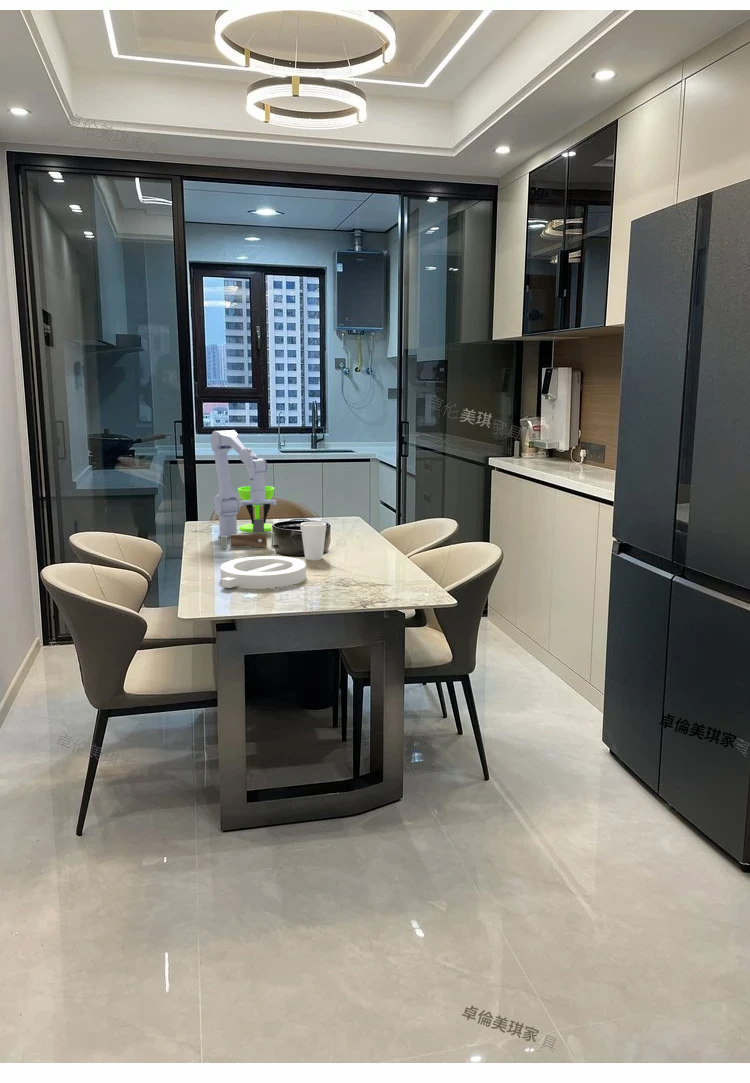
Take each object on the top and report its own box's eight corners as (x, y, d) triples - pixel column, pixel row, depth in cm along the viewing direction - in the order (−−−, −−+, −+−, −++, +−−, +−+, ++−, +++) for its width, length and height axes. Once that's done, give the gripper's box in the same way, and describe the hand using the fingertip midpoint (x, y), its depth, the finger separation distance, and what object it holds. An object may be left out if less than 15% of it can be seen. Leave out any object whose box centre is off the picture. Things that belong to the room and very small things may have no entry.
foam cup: (296, 557, 294) (295, 523, 291) (317, 554, 299) (317, 520, 297) (310, 562, 287) (309, 527, 284) (331, 559, 292) (331, 524, 289)
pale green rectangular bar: (221, 547, 312) (220, 536, 311) (278, 545, 317) (277, 533, 316) (221, 548, 311) (220, 536, 310) (278, 545, 315) (278, 534, 314)
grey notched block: (253, 532, 322) (252, 519, 322) (263, 531, 323) (262, 519, 323) (254, 532, 315) (253, 519, 314) (264, 531, 315) (263, 519, 315)
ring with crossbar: (221, 592, 248) (220, 577, 247) (220, 571, 275) (220, 557, 274) (310, 587, 253) (310, 573, 253) (301, 567, 280) (301, 554, 279)
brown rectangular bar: (231, 546, 313) (230, 534, 312) (266, 545, 314) (266, 534, 313) (230, 547, 310) (229, 535, 309) (266, 547, 311) (266, 535, 310)
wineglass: (283, 527, 354) (282, 487, 350) (259, 533, 340) (258, 491, 337) (255, 524, 362) (254, 485, 358) (231, 529, 349) (230, 489, 345)
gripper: (239, 491, 309) (240, 525, 311) (276, 490, 311) (277, 524, 314) (238, 488, 315) (239, 522, 318) (275, 488, 318) (276, 521, 321)
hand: (258, 523), depth 317 cm, fingers closed on grey notched block, 4 cm apart
